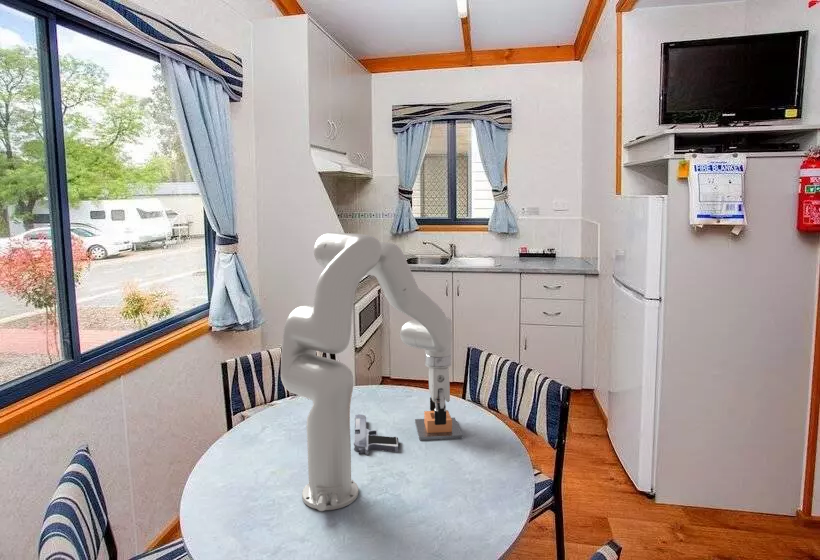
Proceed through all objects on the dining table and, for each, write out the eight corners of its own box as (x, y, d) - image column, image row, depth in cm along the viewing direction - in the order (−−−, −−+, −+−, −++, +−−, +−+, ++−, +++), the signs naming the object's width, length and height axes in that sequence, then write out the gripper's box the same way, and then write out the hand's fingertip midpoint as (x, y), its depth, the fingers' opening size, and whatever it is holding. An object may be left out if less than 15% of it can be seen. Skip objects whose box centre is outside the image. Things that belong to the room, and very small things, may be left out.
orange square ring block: (452, 431, 150) (452, 420, 149) (427, 432, 149) (427, 421, 149) (447, 421, 157) (447, 410, 156) (424, 422, 156) (424, 411, 155)
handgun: (394, 412, 161) (354, 414, 160) (399, 447, 139) (353, 449, 138) (394, 420, 161) (354, 421, 160) (399, 456, 139) (353, 457, 138)
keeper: (462, 438, 148) (462, 416, 147) (419, 440, 147) (419, 418, 146) (454, 420, 160) (454, 400, 159) (415, 422, 158) (415, 401, 157)
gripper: (456, 369, 142) (456, 429, 144) (446, 350, 159) (446, 405, 161) (428, 369, 141) (428, 430, 144) (421, 351, 158) (421, 406, 161)
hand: (437, 417), depth 152 cm, fingers open, 9 cm apart
